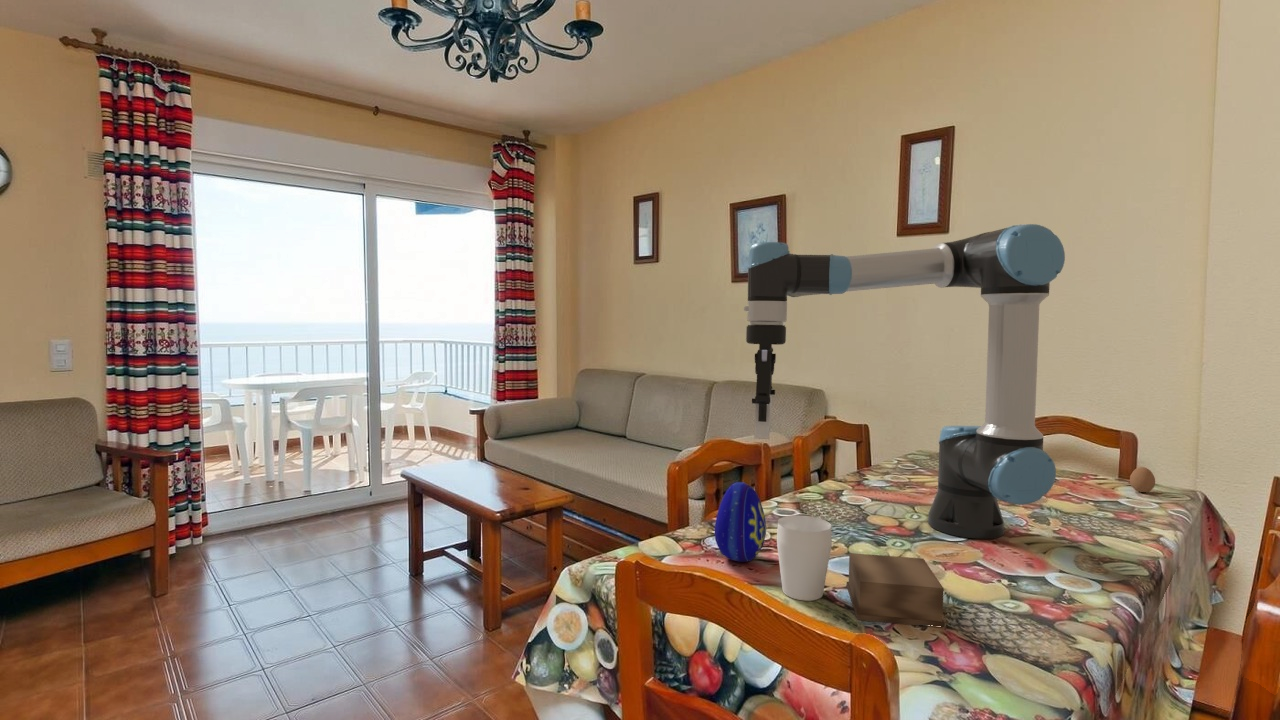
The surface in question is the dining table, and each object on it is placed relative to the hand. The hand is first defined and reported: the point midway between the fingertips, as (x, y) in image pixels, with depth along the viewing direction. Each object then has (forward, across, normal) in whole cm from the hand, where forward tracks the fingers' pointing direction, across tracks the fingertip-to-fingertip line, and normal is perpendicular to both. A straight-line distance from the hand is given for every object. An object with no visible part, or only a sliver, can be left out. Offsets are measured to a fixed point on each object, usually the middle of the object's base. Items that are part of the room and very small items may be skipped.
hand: (763, 432), depth 123 cm
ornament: (+24, +4, -4) cm, 25 cm away
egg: (+23, -71, +100) cm, 124 cm away
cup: (+24, +17, +8) cm, 30 cm away
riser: (+24, +18, +22) cm, 37 cm away
